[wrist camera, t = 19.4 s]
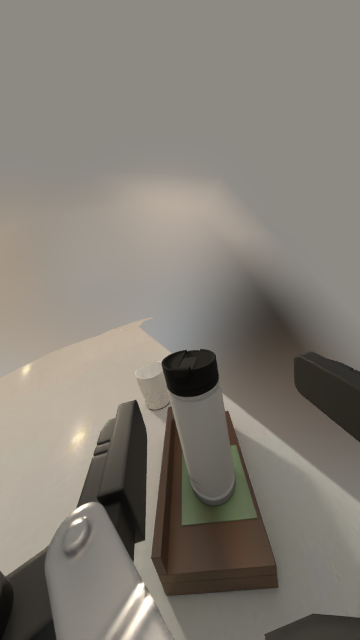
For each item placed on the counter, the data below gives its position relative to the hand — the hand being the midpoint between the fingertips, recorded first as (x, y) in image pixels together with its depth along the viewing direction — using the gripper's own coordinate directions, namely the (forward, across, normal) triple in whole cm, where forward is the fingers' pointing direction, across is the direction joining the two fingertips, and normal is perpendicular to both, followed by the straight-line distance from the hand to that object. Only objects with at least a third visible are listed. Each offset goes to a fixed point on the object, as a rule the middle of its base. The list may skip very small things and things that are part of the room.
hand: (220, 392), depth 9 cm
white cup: (+36, +8, +28) cm, 46 cm away
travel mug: (+11, 0, +23) cm, 26 cm away
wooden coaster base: (+13, +1, +27) cm, 30 cm away
